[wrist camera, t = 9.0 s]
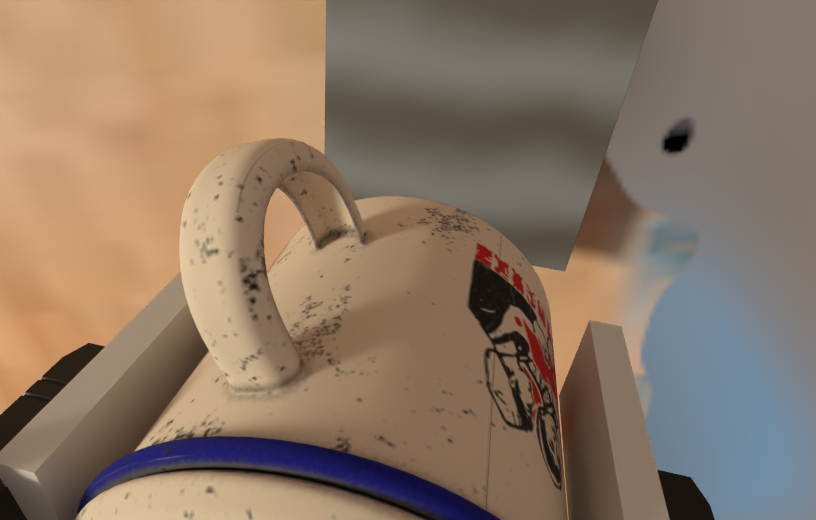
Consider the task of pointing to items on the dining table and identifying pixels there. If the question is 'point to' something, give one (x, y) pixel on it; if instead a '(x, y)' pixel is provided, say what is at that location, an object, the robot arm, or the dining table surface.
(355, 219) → the teacup with lid
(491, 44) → the grey stand
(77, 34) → the dining table surface
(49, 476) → the robot arm
